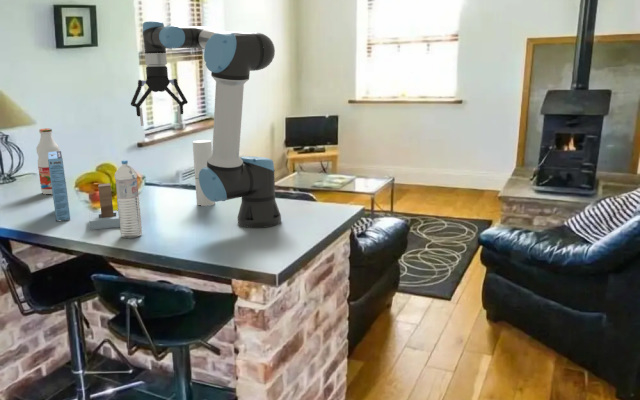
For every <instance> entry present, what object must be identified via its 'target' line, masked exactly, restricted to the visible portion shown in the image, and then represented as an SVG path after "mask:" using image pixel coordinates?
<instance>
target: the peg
mask: <svg viewBox="0 0 640 400" xmlns="http://www.w3.org/2000/svg"><path fill="white" fill-rule="evenodd" d="M97 187H98V196H99V205H100V212H101V215H102V218H106V217H114V214H113V211H114V205H113V197H112V186H111V183H109V182H108V183H100V184H98V186H97Z"/></svg>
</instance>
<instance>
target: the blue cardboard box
mask: <svg viewBox="0 0 640 400" xmlns="http://www.w3.org/2000/svg"><path fill="white" fill-rule="evenodd" d="M62 154H63V153H62V151H61V150H59V151H55V152H48V163H49V171H50V179H51V186H52V194H51V195H52V200H53V207H54V214H55V221H56V220H65V221H70V220H71V214H70V213H71V212H70V205H69V196H68V195H69V194H68V188H67V182H66V174H65V167H64V162H63V161H64V160H63V155H62ZM68 219H69V220H68Z"/></svg>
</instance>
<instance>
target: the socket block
mask: <svg viewBox="0 0 640 400" xmlns="http://www.w3.org/2000/svg"><path fill="white" fill-rule="evenodd" d="M113 214H114V217H106V218H102V215H101V211H100V212H99V211H96V212H89V219H88V222H89V223H88V225H89V230H91V231H92V229H93V230H100V229H101V230H102V229H110V228H120V224H119V223H120V222H119V214H118V211H117V210H113Z"/></svg>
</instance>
